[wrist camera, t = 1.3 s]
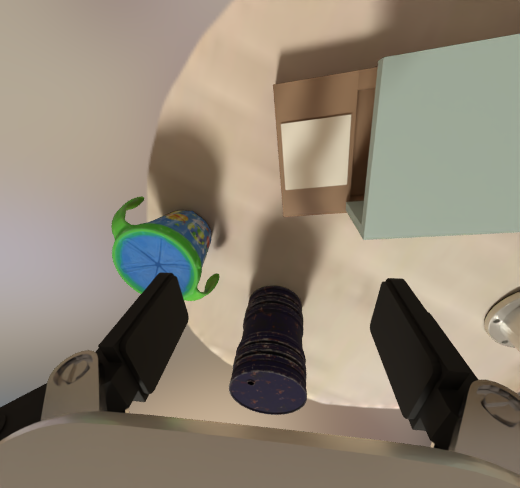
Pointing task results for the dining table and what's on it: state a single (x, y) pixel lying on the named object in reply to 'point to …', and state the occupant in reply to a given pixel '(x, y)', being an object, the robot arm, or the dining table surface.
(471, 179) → the cover
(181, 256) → the snack cup
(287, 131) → the board
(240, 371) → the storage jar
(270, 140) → the dining table surface
